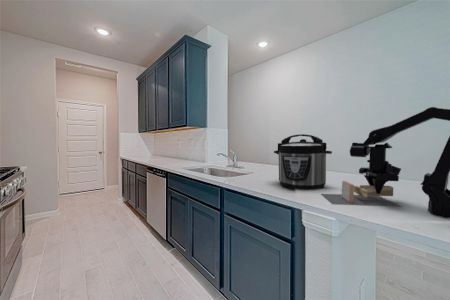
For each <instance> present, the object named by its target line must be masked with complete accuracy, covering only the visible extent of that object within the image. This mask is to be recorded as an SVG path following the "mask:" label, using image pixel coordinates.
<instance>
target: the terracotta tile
mask: <svg viewBox="0 0 450 300" xmlns="http://www.w3.org/2000/svg"><path fill="white" fill-rule="evenodd" d="M354 186H355V184H353V183H351V182H349V181H347V180H342V182H341V194H342V198H344V199H345V200H347V201H348V202H349V203H353V199H354V195H355V194H354V193H355V192H354Z"/></svg>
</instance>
